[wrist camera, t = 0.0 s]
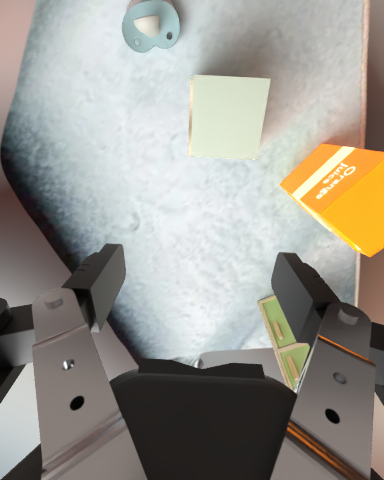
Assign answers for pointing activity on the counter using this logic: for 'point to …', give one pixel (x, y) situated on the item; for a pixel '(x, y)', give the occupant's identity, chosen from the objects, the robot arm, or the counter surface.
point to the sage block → (228, 116)
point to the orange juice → (343, 193)
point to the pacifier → (150, 24)
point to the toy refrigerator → (283, 341)
